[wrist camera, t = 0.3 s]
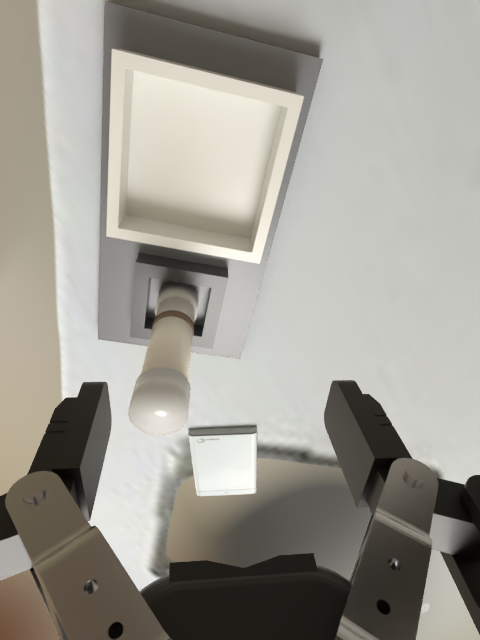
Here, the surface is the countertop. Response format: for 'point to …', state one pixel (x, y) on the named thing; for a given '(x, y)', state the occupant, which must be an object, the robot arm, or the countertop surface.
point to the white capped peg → (166, 363)
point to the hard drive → (224, 460)
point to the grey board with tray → (193, 171)
